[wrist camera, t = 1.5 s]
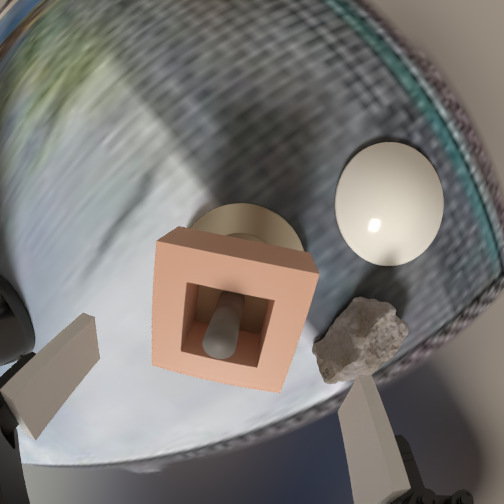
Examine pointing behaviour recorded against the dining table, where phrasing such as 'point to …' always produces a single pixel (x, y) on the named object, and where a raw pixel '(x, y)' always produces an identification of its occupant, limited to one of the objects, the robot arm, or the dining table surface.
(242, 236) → the stand
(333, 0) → the dining table surface
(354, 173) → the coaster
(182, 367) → the link
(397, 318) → the stone
